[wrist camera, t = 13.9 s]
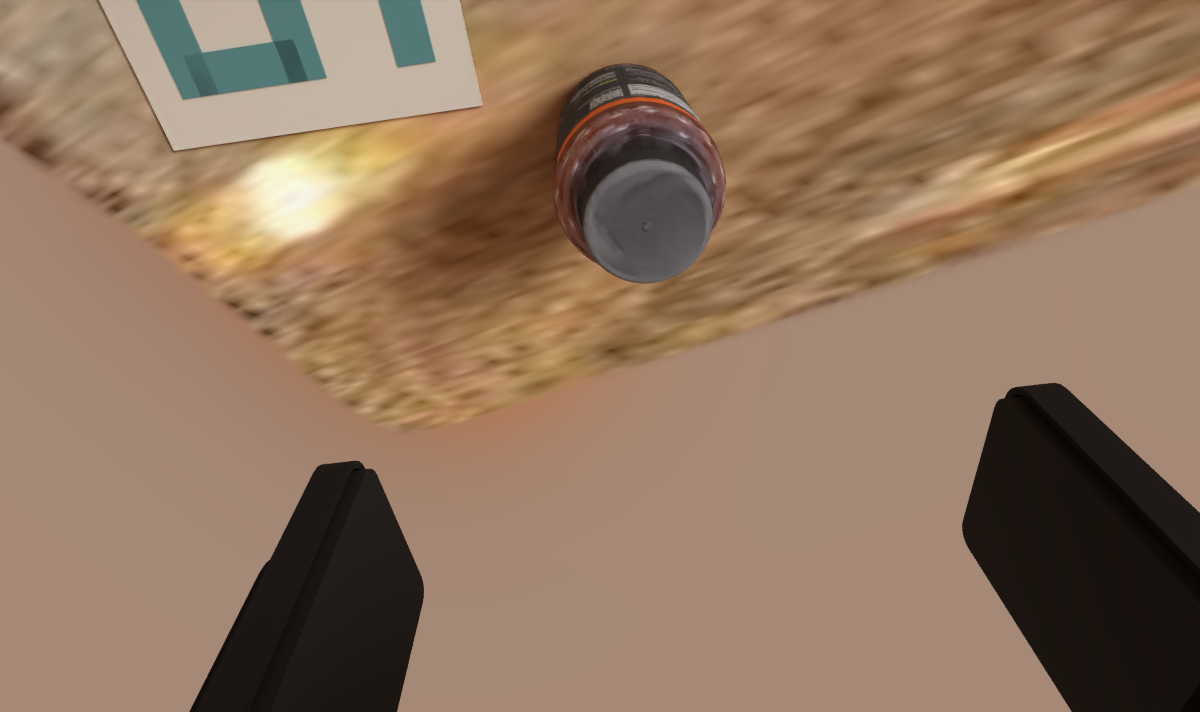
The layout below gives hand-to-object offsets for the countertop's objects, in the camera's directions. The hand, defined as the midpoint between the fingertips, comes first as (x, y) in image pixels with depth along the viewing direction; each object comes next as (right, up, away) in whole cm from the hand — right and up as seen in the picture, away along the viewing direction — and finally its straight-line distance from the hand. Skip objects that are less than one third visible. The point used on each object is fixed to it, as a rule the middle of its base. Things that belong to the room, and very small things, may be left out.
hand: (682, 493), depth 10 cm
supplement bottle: (0, +12, +19) cm, 23 cm away
